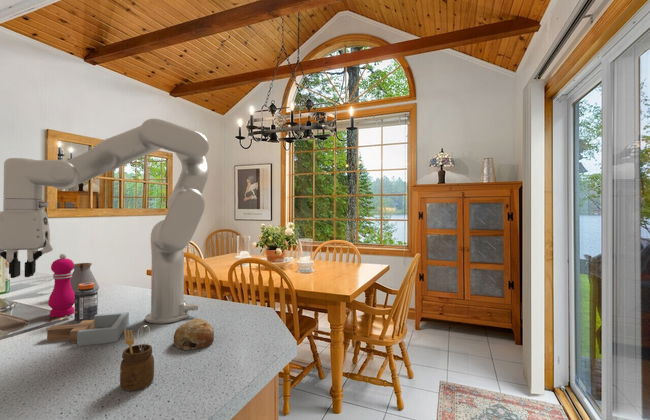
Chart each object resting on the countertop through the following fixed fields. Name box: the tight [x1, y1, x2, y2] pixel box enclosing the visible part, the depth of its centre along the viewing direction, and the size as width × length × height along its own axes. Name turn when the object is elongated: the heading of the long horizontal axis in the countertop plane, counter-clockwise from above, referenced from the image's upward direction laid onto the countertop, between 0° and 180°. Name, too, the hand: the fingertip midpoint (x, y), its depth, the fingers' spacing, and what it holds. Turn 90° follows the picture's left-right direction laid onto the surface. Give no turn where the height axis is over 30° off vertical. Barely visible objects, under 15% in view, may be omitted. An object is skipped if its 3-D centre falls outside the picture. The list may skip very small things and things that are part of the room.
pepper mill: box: [47, 253, 75, 318], centre depth 109 cm, size 7×7×20 cm
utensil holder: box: [119, 325, 155, 392], centre depth 66 cm, size 6×6×12 cm
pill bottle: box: [73, 283, 99, 323], centre depth 104 cm, size 6×6×11 cm
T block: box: [46, 320, 96, 344], centre depth 90 cm, size 9×9×3 cm
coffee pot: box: [70, 262, 100, 293], centre depth 128 cm, size 21×12×15 cm, turn 35°
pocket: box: [76, 311, 130, 347], centre depth 92 cm, size 8×15×4 cm, turn 20°
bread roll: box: [173, 318, 215, 351], centre depth 87 cm, size 10×10×8 cm
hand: (22, 276), depth 86 cm, fingers closed
